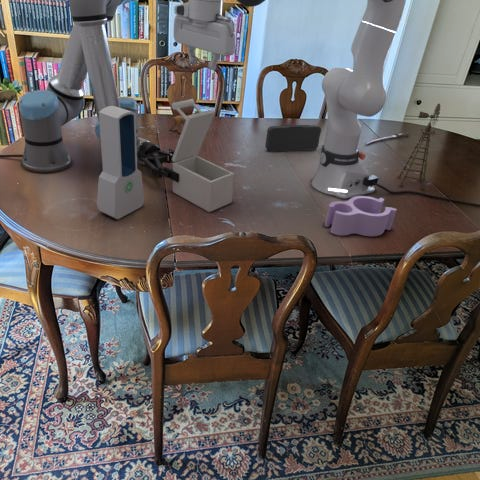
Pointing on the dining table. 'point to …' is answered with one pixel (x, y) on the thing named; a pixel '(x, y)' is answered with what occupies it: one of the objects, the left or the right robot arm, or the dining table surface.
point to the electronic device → (119, 164)
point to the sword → (385, 138)
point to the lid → (191, 130)
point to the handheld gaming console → (292, 137)
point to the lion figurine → (179, 122)
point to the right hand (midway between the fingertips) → (202, 66)
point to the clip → (359, 216)
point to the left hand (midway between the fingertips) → (190, 173)
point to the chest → (203, 183)
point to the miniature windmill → (428, 131)
